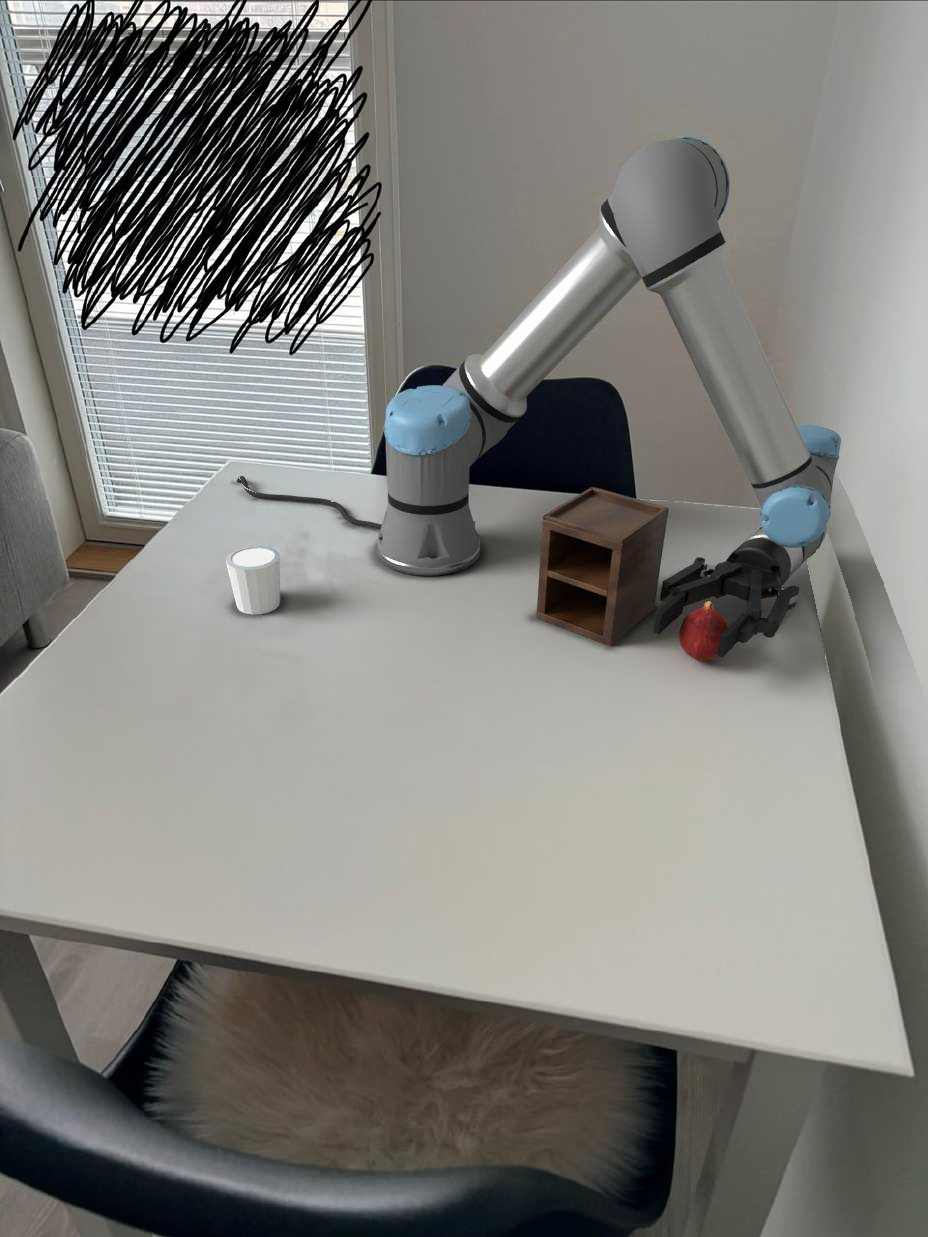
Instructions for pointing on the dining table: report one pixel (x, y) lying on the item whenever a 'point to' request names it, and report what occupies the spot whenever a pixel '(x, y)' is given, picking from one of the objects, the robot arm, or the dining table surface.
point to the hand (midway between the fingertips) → (689, 634)
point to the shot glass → (255, 578)
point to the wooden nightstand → (600, 563)
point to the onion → (702, 632)
